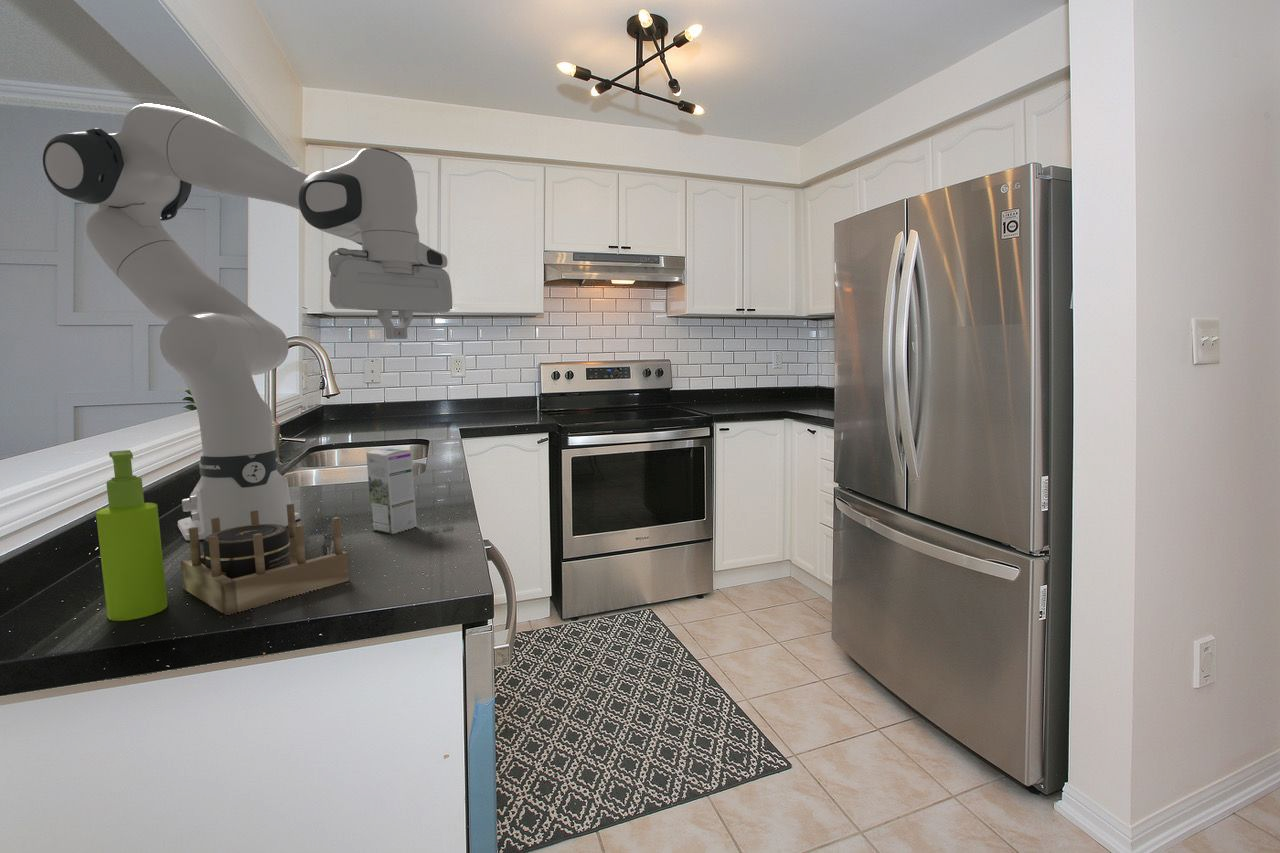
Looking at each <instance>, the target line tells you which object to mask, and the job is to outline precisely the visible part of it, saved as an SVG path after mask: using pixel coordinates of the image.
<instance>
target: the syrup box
mask: <svg viewBox="0 0 1280 853" xmlns="http://www.w3.org/2000/svg"><path fill="white" fill-rule="evenodd" d="M413 463H414V462H413V451H412V450H411V449H403V448H393V447H392V448H391V447H390V448H380V449H375V450H371V451H368V452H366V464H367V478H368V481H367V482H368V494H369V504H370V506H369V507H370V516H371V519H370V520H371V521H370V522H371V530H372V531H374V532H379V533H380V532H381V533H383V534H384V533H385V534H389V535H394V534H395V535H396V534H399V533H398V532H400V533H402V532H401V531H403V532H405V531H404V530H407V531H409V530H408V529H410V530H412V529H411V528H413V529H415V528H414V527H416V528H417V527H418V525H417V524H418V523H417V511H416V496H415V495H416V494H415V480H414V464H413Z"/></svg>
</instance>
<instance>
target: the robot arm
mask: <svg viewBox="0 0 1280 853" xmlns="http://www.w3.org/2000/svg"><path fill="white" fill-rule="evenodd" d="M42 166H43V171H44V174H45V176H46V178H47V180H48V182H49V183H50V184H51V186H52V187H53V188H54V189H55V190H56V191H58V193H60V194H62V195H63V196H66V197H67V198H69V199H72V200H75V201H78V202H81V203H86V204H91V205H96V204H98V209H96V210H94V212H93V213H92V214H91V215H90V217H89V218H88V219H87V221H86V224H85V231H86V232H85V233H86V236H87V237H88V240H89V241H90V243H91V244H92V246H93V247H94V249H95V251H96V253H98V255H99V257H101V259H102V260H103V262H104V263H105V264H106V266H108V268H109V269H110V270H111V272H112V273H113V274H114V275H116V277H117V278H118V279H119V281H121V282H122V283H123V284H124V285H125V287H127V288H128V290H129V291H131V293H133V294H134V296H136V298H137V299H138V300H139V301H140V302H141V303H142V304H143V305H144V306H145V307H146V309H147V310H149V311H150V312H151V313H152V314H154V316H156V317H158V318H159V319H161V320H164V321H166V322H167V323H166V324H165V325H164V327H163V328H162V330H161V333H160V335H159V336H160V337H159V348H160V349H159V350H160V351H161V354H162V358H163V359H164V360H165V362H166V363H167V364H168V365H169V366H171V368H173V369H174V370H175V371H176V372H177V373H178V374H179V375H180V376H181V377H182V379H183V380H184V382H185V384H186V386H187V388H188V390H189V392H190V395H191V397H192V399H193V402H194V405H195V407H196V411H197V414H198V415H197V416H198V421H199V422H198V423H199V429H200V431H199V432H200V438H201V449H202V454H201V456H200V462H199V463H198V464H199V465H198V466H199V475H200V479H199V480H198V482H197V483H196V485H195V487H194V488H193V491H191V493H190V495H189V498H183V499H181V506H182V507H181V508H182V512H190V516H189V517H184V518H182V519H179V520H178V521H177V527H178V529H179V531H180V532H181V534H182V537H183V538H184V539H185V540H184V541H190V537H189V528H192V527H198V533H199V541H200V540H204V539H205V538H206V537H207V536H209V535H211V534H212V526H211V518H216V517H219V519H220V530H221V531H222V530H226V529H230V528H235V527H240V526H248V525H251V515H250V511H254V510H258V514H259V524H276V525H282V526H285V527H286V528H287V527H288V518H287V504H292V502H291V496H290V490H289V484H288V479H287V478H286V477H285V476H284V475H281V473H279V471H278V469H279V461H280V459H279V456H278V451H277V449H275V443H274V441H275V440H274V429H273V418H272V417H273V416H272V411H271V410H272V409H271V407H270V406H269V404H268V403H267V402H266V401H265V400H263V398H262V397H261V395H260V393H259V390H258V389H257V386H256V384H255V381H254V378H253V376H256V375H257V376H258V375H262V374H265V373H267V372H270V371H272V370H275V369H277V368H278V367H280V366H281V365H282V364H283V363H284V362H285V361H286V359H287V357H288V355H289V350H290V349H289V346H290V345H289V340H288V338H287V336H286V334H285V333H284V331H283V329H281V328H280V326H279V327H278V326H277V325H276V324H274V323H272V322H270V321H269V320H267V319H265V318H264V317H263V316H261V315H260V314H259V313H257V312H256V311H254V310H253V308H251V307H249V306H248V305H247V304H246V303H244V302H243V301H242V300H241V299H240V298H238V297H237V296H235V295H234V294H233V293H231V292H230V291H229V290H227V289H226V288H224V287H223V286H222V285H221V284H219V282H217V281H216V280H215V279H213V278H212V276H210V275H209V274H208V273H207V272H206V270H204V269H203V268H202V267H201V266H200V265H199V263H197V262H196V260H194V258H192V256H191V255H190V254H189V253H188V252H187V251H186V250H185V249H184V248H183V247H182V246H181V245H180V244H179V243H178V242H177V241H176V240H175V239H174V238H173V237H172V236H171V235H170V234H169V233H168V231H166V229H165V227H163V224H162V222H163V221H169V220H172V219H173V218H175V217H176V216H177V214H178V211H179V209H181V208H182V207H183V206H184V205H185V204H186V203H187V200H188V199H189V197H190V194H191V191H192V186H194V187H195V186H196V187H199V188H201V189H206V190H209V191H214V192H218V193H221V194H228V195H234V196H239V197H244V198H245V197H246V198H251V199H256V200H261V201H267V202H272V203H277V204H280V205H285V206H288V207H291V208H293V209H296V210H299V211H300V213H301V216H302V217H303V219H304V220H305V221H306V222H307V223H308V224H309V225H310V226H312V227H314V228H315V229H317V230H320V231H321V232H324V233H328V234H329V235H333V236H336V237H340V238H341V239H346V240H349V241H351V242H354V243H355V244H357V245H360V246H361V249H349V248H346V247H345V248H344V247H338V248H337V249H335V250H332V251H331V253H330V254H329V256H328V269H329V272H330V279H329V294H328V295H329V303H330V304H331V306H332V307H333V308H335V309H337V310H356V311H357V310H360V311H362V310H363V311H376V312H377V319H378V320H379V321H380V323H381V325H382V327H383V328H384V329H385V330H384V331H385V338H386V339H387V340H407V339H408V328H409V326H410V324H411V322H412V320H413V318H414V314H413V313H425V314H427V313H429V314H445V313H450V311H451V310H452V308H453V291H452V283H451V278H450V275H449V272H447V271H446V269H444V268H446V267H447V266H448V257H447V256H446V255H445V254H443V253H442V252H440V251H438V250H435V249H434V248H431V247H430V246H428V245H426V244H425V243H422V242H420V233H419V230H418V228H417V223H416V220H417V219H416V218H417V214H418V196H417V188H416V187H417V186H416V181H415V175H414V174H415V173H414V170H413V167H412V165H411V163H410V162H409V161H408V160H407V159H406V158H404V157H403V156H402V155H400V154H399V153H396V152H394V151H391V150H388V149H385V148H380V147H365V148H362V149H360V150H359V151H358V152H357V154H356V155H355V156H354V157H353V158H352V159H351V160H349V161H347V162H345V163H342V164H341V165H339V166H336V167H333V168H329V169H328V170H318V171H315V172H313V173H311V174H310V175H309V174H306V173H304V172H301V171H299V170H297V169H295V168H293V167H292V166H289V165H288V164H286V163H285V162H282V161H281V160H279V159H278V158H276V157H274V156H273V155H271V154H270V153H268V152H266V151H265V150H263V149H262V148H261V147H259V146H258V145H256V144H254V143H253V142H251V141H250V140H248V139H247V138H245V137H244V136H242V135H240V134H239V133H237V132H235V131H234V130H233V129H230V128H228V127H227V126H224V125H223V124H220V123H218V122H217V121H214V120H212V119H210V118H207V117H205V116H202V115H200V114H196V113H193V112H191V111H187V110H184V109H180V108H176V107H172V106H166V105H161V104H156V103H155V104H154V103H143V104H138V105H135V106H134V107H133V108H131V109H130V110H129V111H128V112H126V115H125V116H124V118H123V121H122V126H121V129H120V131H118V132H116V133H115V132H114V133H107V132H106V131H105V130H103V129H102V128H99V127H95V128H91V129H87V130H84V131H76V132H68V133H67V132H66V133H63V134H59V135H56V136H54V137H52V138H51V139H50V140H49V141H48V142H47V144H46V145H45V147H44V149H43V154H42ZM393 312H398V319H401V320H400V322H399V323H398V324H399V325H398V326H397V327H396V326H394V324H393V322H392V320H391V318H392V317H393ZM300 518H301V517H300V513H299V512H295V521H297V520H299V519H300Z"/></svg>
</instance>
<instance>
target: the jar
mask: <svg viewBox="0 0 1280 853" xmlns="http://www.w3.org/2000/svg"><path fill="white" fill-rule="evenodd" d="M254 534H262V539H263V551H264V563H265V571H266V570H270V569H274V568H278V567H282V566H286V565H290V552H289V544H290V541H289V531H288V527H287V526H286V527H285V526H282V525H276V524H258V525H248V526H240V527H235V528H230V529H226V530H222V531H218V532H215V533H213V534H211V535H209V536H207V537H206V538H205V539H203V542H202V544H203V546H202V548H203V553H202V554H203V555H202V556H204V558H205V566H206V567H207V568H209V569H211V560H210V549H209V539H208V537H210V536H218V541H219V552H220V563H221V574H222V575H224V576H226V577H228V578H230V579H234V578H238V577H242V576H246V575H250V574H254V573H256V566H255V555H254V543H253V535H254Z"/></svg>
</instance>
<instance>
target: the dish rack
mask: <svg viewBox="0 0 1280 853" xmlns="http://www.w3.org/2000/svg"><path fill="white" fill-rule="evenodd" d="M250 515H251V525H258V524H259V514H258V510H254V511H250ZM287 518H288V526H287V530H288V535H289V541H290V544H289V552H290V565H286V566H282V567H278V568H274V569H270V570H266V571H265V563H264V551H263V539H262V534H254V535H253V543H254V555H255V566H256V573H254V574H250V575H246V576H242V577H238V578H234V579H230V578H228V577H226V576H224V575H222V574H221V563H220V552H219V541H218V536H210V537H208V539H209V549H210V560H211V569H209V568H207V567H206V566H205V558H204V556H203V555H201V547H200V546H201V544H200V540H199V533H198V527H192V528H189V537H190V540H189V548H190V556H191V557H190V558H186V559H181V560H180V566H181V575H182V576H181V577H182V586H183V587H182V588H183V590H184V591H186V592H188V593H190V594H191V595H193V596H194V597H196V598H197V599H199V600H200V601H202V602H204V603H206V604H207V605H208V606H211V608H214V609H215V610H217V611H218V612H220V613H222V614H223V613H224V614H223V615H224V616H226V615H229V616H232V615H234V613H235V614H238V613H237V612H239V613H242V612H245V610H246V611H249V610H252V609H251V608H253V609H256V608H259V606H260V607H262V605H263V606H266V605H270V604H273V603H276V602H275V601H277V602H279V601H278V600H280V601H283V600H282V599H284V600H286V599H285V598H287V599H289V598H288V597H290V598H293V597H292V596H294V597H297V596H300V595H299V594H301V595H303V593H304V594H306V592H308V593H310V592H309V591H311V592H314V591H313V590H315V591H317V589H318V590H322V589H325V588H328V587H332V586H334V585H338V584H341V583H345V582H349V581H350V573H349V572H350V570H349V558H348V557H349V556H348V552H347V551H344V550H343V549H344V548H343V536H342V525H341V524H342V523H341V521H342V520H341V517H340V516H335V517H332V518H331V519H332V521H331V522H332V531H333V532H332V533H333V548H334V553H330V554H326V555H322V556H318V557H314V558H311V559H307V558H306V546H305V535H304V534H305V533H304V525H303V524H297V525H296V520H295V503H291V504H287ZM211 526H212V534H213V533H215V532H218V531H221V530H220V519H219V517H216V518H211ZM324 587H325V588H324ZM296 595H297V596H296ZM272 602H273V603H272ZM269 603H270V604H269ZM248 609H249V610H248ZM241 611H242V612H241ZM231 614H232V615H231Z"/></svg>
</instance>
